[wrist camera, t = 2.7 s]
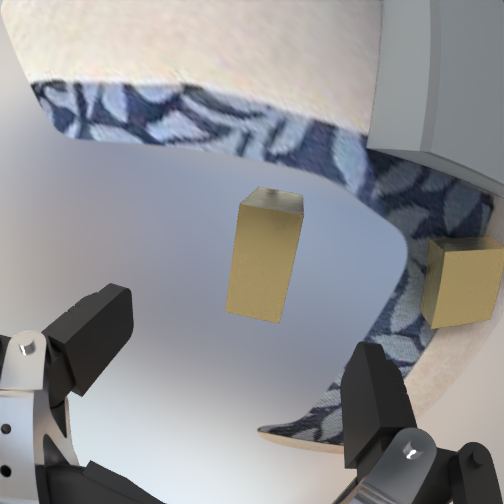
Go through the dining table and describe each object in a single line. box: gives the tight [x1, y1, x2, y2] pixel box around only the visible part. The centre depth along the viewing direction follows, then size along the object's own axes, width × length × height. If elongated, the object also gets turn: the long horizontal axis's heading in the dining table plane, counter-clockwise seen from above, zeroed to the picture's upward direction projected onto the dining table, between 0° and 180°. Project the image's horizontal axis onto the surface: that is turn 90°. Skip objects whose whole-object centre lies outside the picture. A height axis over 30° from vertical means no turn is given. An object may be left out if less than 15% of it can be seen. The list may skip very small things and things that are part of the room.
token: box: [420, 237, 504, 329], centre depth 17 cm, size 6×6×3 cm
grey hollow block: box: [366, 0, 504, 198], centre depth 9 cm, size 12×12×10 cm
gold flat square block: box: [226, 187, 304, 323], centre depth 17 cm, size 6×3×6 cm, turn 171°
